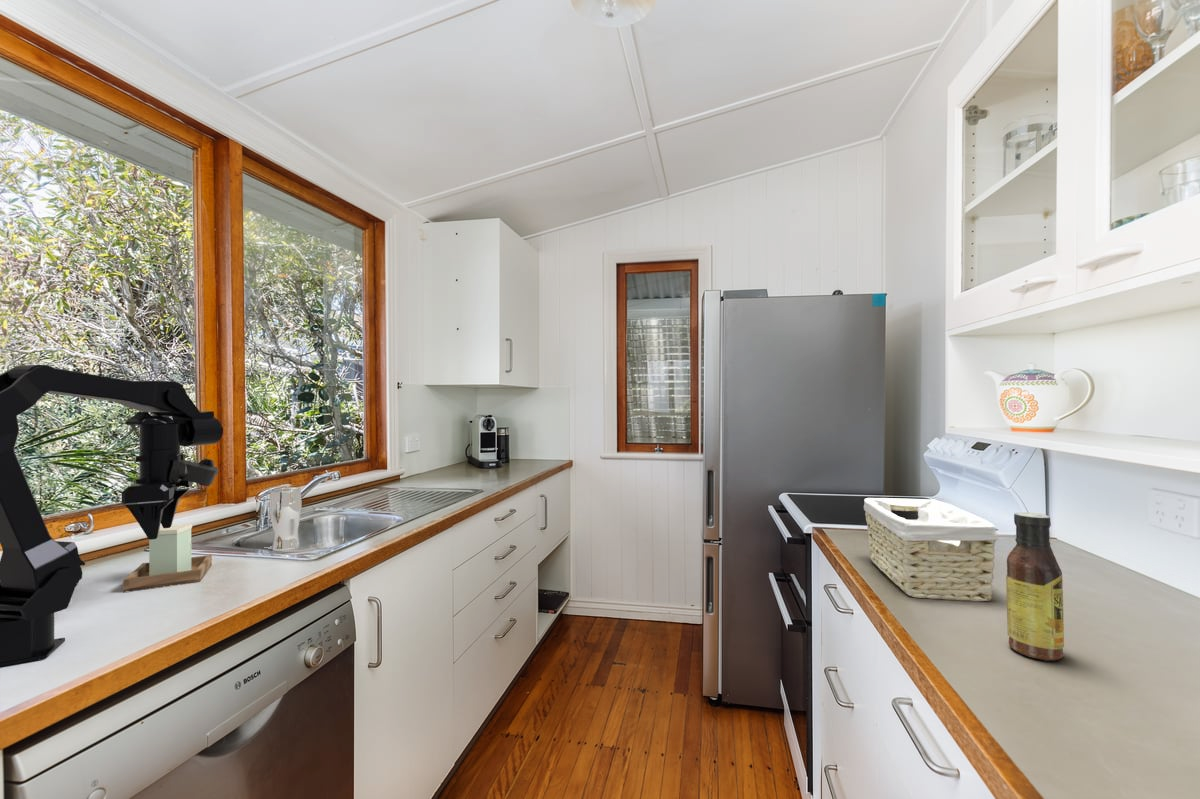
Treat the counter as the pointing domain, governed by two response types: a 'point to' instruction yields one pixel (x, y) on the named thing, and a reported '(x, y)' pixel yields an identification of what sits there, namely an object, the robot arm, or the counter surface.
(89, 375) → the robot arm
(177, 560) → the tea tin
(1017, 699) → the counter surface
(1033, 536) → the sauce bottle
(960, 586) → the storage basket
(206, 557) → the tray
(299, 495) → the beer glass
